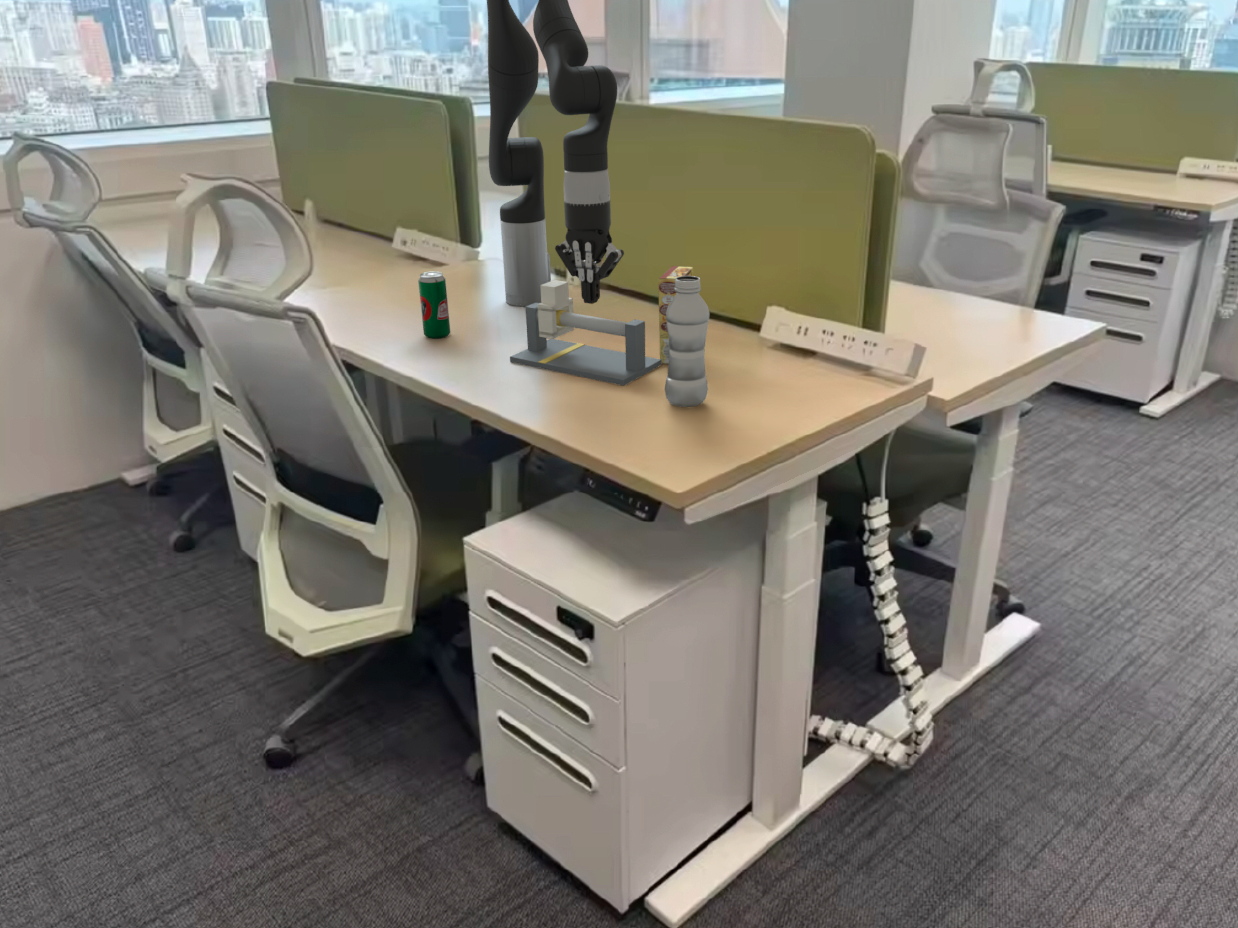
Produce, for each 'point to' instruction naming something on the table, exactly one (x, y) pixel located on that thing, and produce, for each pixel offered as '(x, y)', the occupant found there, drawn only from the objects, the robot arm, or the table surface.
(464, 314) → the table surface
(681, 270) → the candy box
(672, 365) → the plastic bottle
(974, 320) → the table surface
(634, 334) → the rail stand
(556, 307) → the collar
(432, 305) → the soda can
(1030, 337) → the table surface
